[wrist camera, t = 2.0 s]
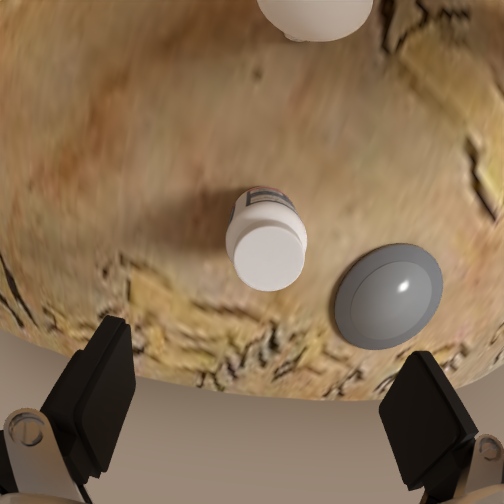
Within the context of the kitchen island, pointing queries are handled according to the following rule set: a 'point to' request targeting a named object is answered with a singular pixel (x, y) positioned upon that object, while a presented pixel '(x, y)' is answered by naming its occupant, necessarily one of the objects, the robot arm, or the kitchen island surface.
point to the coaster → (388, 296)
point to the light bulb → (316, 17)
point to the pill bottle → (266, 239)
